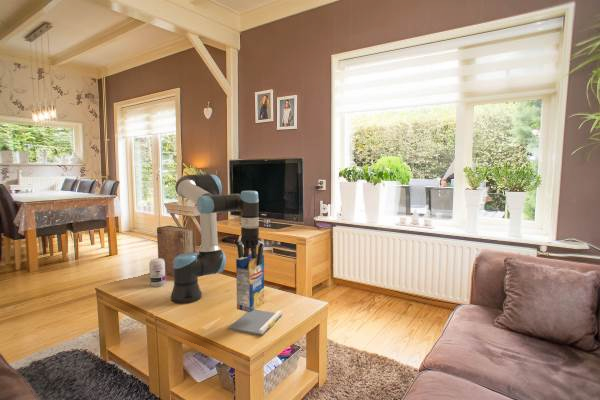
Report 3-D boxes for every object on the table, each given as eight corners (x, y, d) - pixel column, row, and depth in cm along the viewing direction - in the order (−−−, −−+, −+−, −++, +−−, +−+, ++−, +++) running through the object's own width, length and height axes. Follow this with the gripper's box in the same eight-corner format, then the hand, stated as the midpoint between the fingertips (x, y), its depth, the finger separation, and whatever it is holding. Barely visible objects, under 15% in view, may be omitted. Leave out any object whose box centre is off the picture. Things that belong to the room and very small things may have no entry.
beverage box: (236, 309, 144) (236, 259, 142) (252, 300, 154) (251, 253, 152) (249, 312, 141) (249, 261, 139) (264, 303, 150) (264, 255, 148)
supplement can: (160, 281, 201) (159, 257, 200) (168, 284, 196) (167, 259, 195) (147, 285, 195) (146, 260, 193) (155, 288, 190) (154, 262, 188)
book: (196, 275, 212) (195, 229, 210) (184, 279, 205) (183, 231, 202) (170, 269, 226) (169, 225, 223) (158, 272, 218) (156, 227, 215)
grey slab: (228, 329, 141) (228, 324, 141) (250, 310, 160) (250, 305, 160) (263, 336, 136) (263, 330, 136) (282, 316, 155) (282, 310, 154)
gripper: (229, 227, 143) (230, 280, 145) (262, 229, 138) (262, 285, 140) (238, 224, 150) (239, 275, 152) (270, 226, 145) (270, 279, 147)
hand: (250, 279), depth 146 cm, fingers closed on beverage box, 2 cm apart
